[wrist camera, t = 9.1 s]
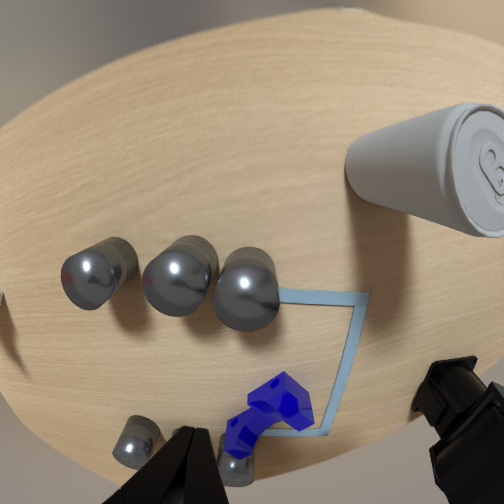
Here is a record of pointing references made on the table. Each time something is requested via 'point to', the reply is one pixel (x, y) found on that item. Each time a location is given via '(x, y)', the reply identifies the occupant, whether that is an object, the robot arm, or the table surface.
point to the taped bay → (359, 311)
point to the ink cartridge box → (0, 294)
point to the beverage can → (437, 168)
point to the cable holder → (268, 414)
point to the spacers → (178, 312)
